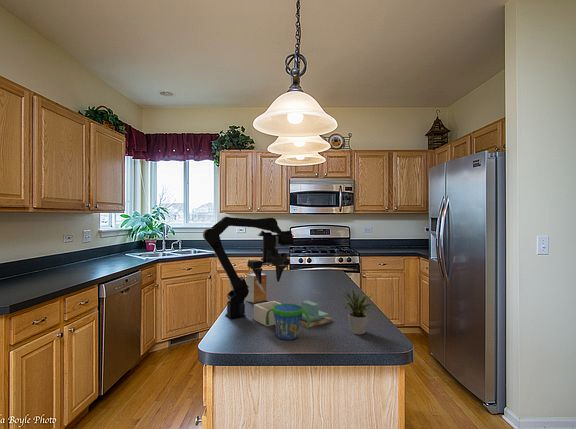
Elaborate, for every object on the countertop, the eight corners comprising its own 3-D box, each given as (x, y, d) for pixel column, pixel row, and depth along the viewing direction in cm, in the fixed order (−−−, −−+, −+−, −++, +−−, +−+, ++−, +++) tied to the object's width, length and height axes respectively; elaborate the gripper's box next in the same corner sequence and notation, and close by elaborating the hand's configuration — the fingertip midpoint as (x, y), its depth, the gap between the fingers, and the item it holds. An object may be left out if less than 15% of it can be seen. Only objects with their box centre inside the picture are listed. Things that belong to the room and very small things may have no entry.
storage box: (266, 326, 125) (266, 310, 125) (253, 319, 133) (253, 304, 133) (288, 321, 131) (288, 306, 131) (274, 315, 139) (274, 300, 139)
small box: (253, 303, 158) (253, 276, 158) (245, 300, 163) (245, 274, 163) (266, 300, 164) (266, 274, 164) (258, 298, 168) (258, 272, 168)
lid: (308, 323, 125) (308, 307, 125) (291, 316, 134) (291, 302, 134) (328, 318, 131) (328, 303, 131) (311, 312, 140) (311, 298, 140)
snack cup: (313, 334, 117) (313, 305, 117) (303, 345, 107) (304, 314, 107) (273, 328, 123) (273, 301, 123) (260, 338, 113) (260, 308, 113)
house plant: (326, 331, 120) (327, 286, 120) (346, 322, 130) (346, 281, 130) (362, 341, 110) (362, 292, 110) (380, 330, 121) (381, 286, 121)
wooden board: (306, 327, 124) (306, 324, 124) (288, 319, 134) (288, 316, 134) (332, 321, 132) (332, 318, 132) (312, 313, 141) (312, 311, 141)
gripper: (260, 249, 131) (260, 288, 131) (297, 246, 142) (297, 283, 142) (246, 247, 140) (246, 284, 140) (283, 245, 151) (282, 279, 151)
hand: (269, 282), depth 143 cm, fingers open, 9 cm apart
